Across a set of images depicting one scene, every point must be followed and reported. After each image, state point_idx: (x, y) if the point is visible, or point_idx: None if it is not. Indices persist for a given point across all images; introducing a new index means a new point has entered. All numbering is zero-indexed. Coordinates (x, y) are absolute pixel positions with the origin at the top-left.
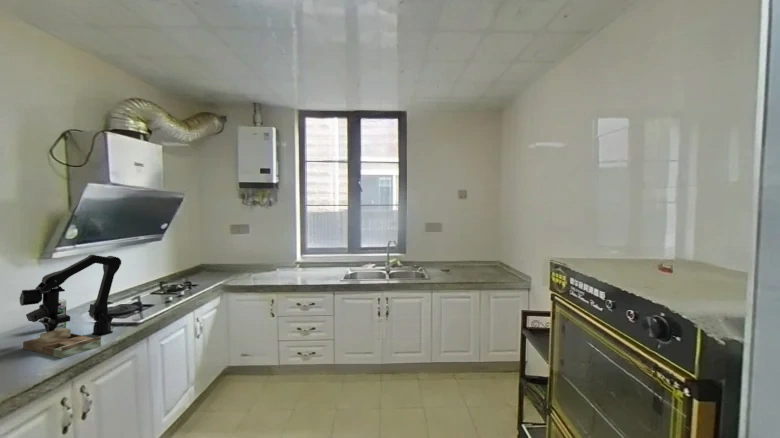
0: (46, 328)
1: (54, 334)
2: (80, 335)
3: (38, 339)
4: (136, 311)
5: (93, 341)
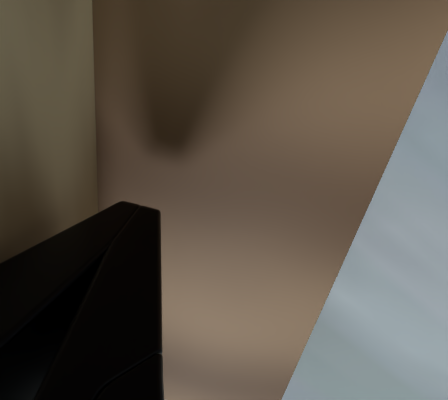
0: (74, 337)
1: None
2: None
3: (282, 46)
4: None
5: None
